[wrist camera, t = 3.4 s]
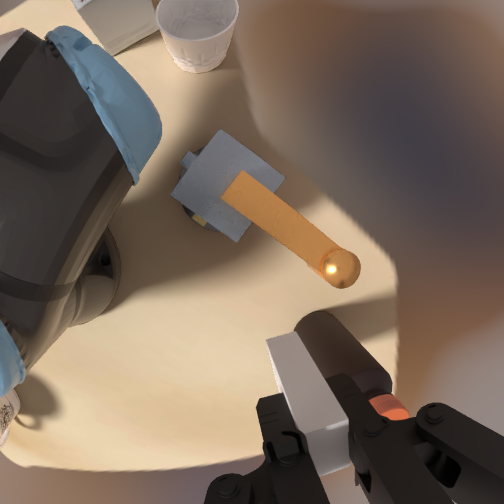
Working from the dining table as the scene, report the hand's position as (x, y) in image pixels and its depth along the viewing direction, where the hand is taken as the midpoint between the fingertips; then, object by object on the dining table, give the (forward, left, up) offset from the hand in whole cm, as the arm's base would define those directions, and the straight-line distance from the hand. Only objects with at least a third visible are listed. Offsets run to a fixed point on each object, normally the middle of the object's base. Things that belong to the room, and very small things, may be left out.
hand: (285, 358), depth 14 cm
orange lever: (+6, +4, -20) cm, 21 cm away
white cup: (+17, +20, -23) cm, 35 cm away
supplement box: (+15, +31, -23) cm, 41 cm away
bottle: (-3, -14, -23) cm, 27 cm away
